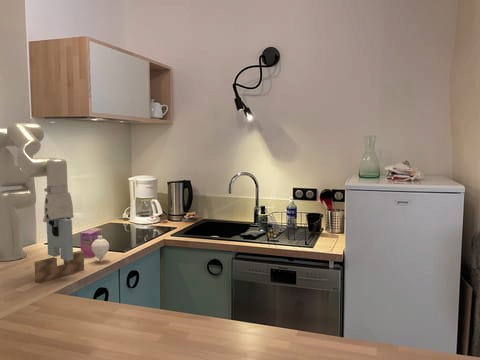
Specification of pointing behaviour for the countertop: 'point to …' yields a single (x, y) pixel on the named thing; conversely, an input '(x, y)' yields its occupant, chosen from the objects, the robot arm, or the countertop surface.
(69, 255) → the grey slotted plate
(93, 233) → the box
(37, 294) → the countertop surface
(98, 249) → the spinning top
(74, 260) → the walnut slotted plate
